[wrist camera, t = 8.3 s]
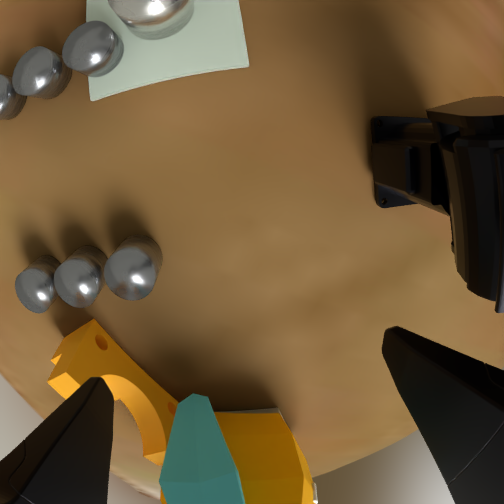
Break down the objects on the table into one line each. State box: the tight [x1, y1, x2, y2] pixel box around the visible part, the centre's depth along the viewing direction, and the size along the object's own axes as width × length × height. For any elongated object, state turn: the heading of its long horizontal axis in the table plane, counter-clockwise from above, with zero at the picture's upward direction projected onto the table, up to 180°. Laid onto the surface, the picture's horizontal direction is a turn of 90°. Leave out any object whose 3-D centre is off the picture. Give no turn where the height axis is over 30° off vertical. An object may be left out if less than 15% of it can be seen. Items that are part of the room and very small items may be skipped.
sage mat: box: [86, 0, 249, 101], centre depth 13 cm, size 10×10×1 cm
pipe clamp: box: [47, 319, 179, 465], centre depth 20 cm, size 12×4×6 cm, turn 29°
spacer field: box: [0, 21, 162, 313], centre depth 15 cm, size 11×17×3 cm, turn 8°
